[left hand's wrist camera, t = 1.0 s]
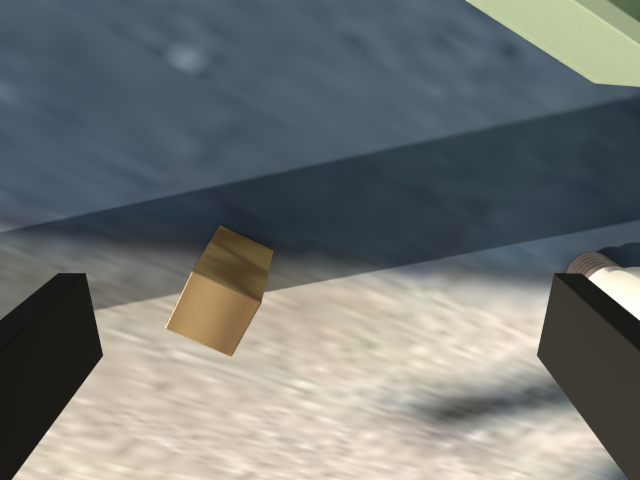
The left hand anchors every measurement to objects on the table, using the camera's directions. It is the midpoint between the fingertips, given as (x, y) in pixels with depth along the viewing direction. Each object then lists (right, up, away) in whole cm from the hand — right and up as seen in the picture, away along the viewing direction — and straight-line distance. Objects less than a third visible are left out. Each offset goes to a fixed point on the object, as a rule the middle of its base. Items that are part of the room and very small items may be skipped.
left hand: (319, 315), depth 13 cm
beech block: (-7, 0, +22) cm, 23 cm away
